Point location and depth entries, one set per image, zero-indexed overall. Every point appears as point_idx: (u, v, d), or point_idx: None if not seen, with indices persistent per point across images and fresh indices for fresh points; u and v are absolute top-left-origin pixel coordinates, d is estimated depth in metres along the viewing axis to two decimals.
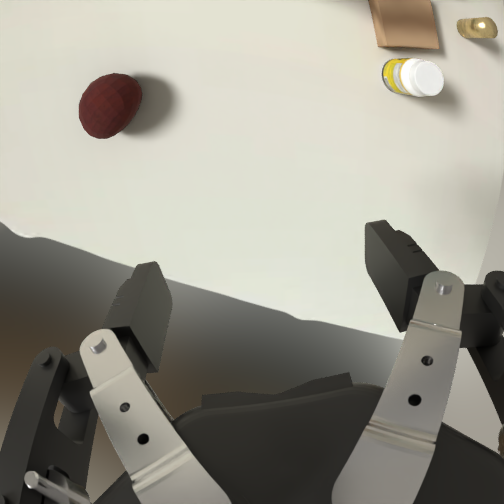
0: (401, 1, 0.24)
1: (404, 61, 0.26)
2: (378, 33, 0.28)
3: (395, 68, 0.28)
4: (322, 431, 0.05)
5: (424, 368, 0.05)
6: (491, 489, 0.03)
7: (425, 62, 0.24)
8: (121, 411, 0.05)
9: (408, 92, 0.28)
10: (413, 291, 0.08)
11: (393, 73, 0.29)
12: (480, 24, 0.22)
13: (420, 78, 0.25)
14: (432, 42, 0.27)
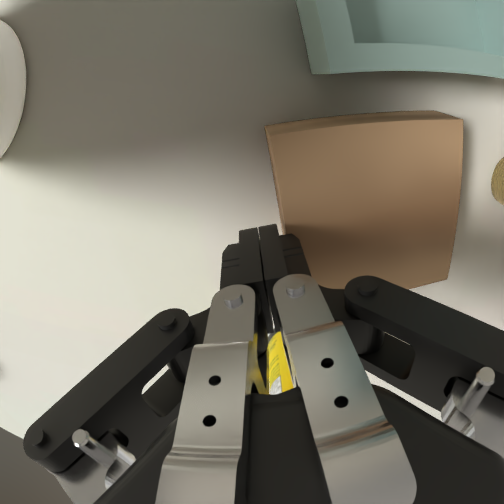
0: (367, 170, 0.11)
1: None
2: None
3: (273, 392, 0.14)
4: None
5: (329, 370, 0.05)
6: (485, 479, 0.03)
7: None
8: (208, 382, 0.06)
9: None
10: None
11: (270, 392, 0.15)
12: None
13: None
14: (434, 270, 0.13)
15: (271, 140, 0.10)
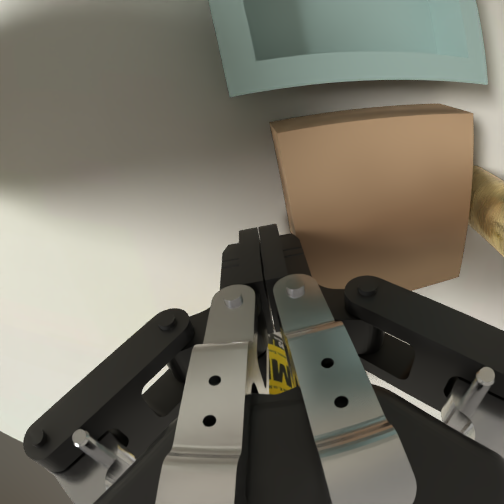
0: (378, 167, 0.10)
1: None
2: None
3: None
4: None
5: (329, 370, 0.05)
6: (485, 479, 0.03)
7: None
8: (208, 382, 0.06)
9: None
10: None
11: None
12: None
13: None
14: (445, 268, 0.13)
15: (278, 138, 0.10)
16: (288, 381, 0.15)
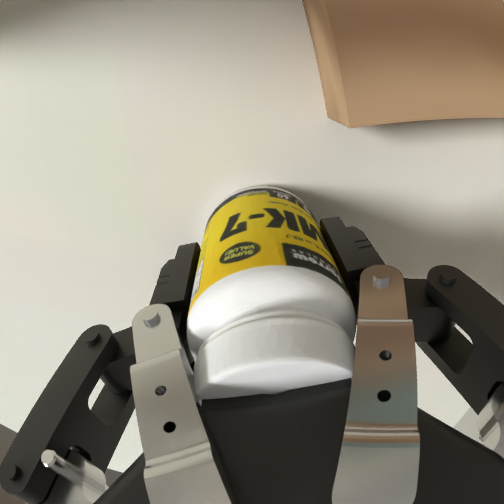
0: None
1: (205, 282, 0.08)
2: (326, 74, 0.09)
3: (193, 287, 0.09)
4: (322, 431, 0.05)
5: (385, 363, 0.05)
6: (490, 484, 0.03)
7: (249, 371, 0.05)
8: (155, 394, 0.05)
9: None
10: (354, 285, 0.09)
11: None
12: None
13: None
14: (503, 98, 0.08)
15: None
16: (325, 245, 0.10)
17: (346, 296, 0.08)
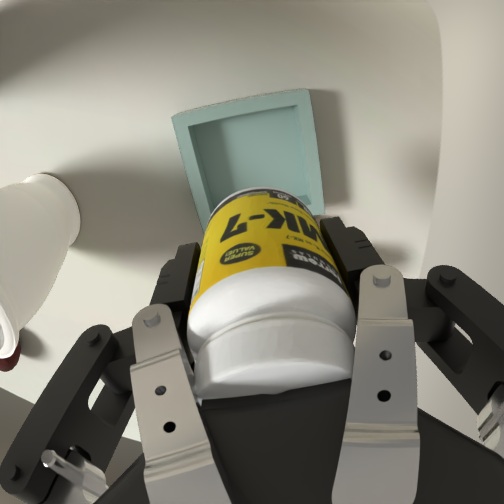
0: None
1: (206, 283, 0.08)
2: None
3: None
4: (322, 431, 0.05)
5: (385, 363, 0.05)
6: (490, 484, 0.03)
7: (249, 372, 0.05)
8: (155, 393, 0.05)
9: None
10: (354, 285, 0.09)
11: None
12: None
13: None
14: None
15: None
16: (325, 246, 0.10)
17: (346, 297, 0.08)
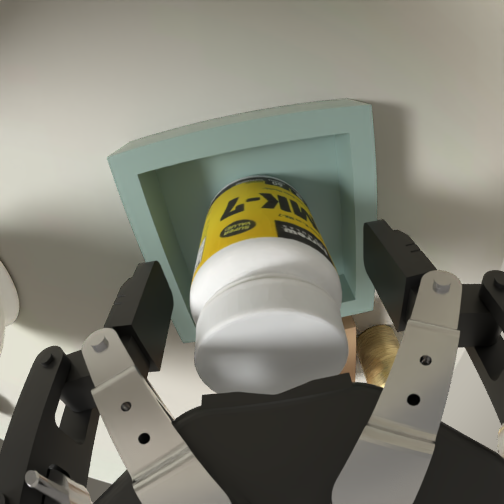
0: None
1: (207, 253, 0.09)
2: None
3: None
4: (322, 431, 0.05)
5: (423, 368, 0.05)
6: (491, 489, 0.03)
7: (244, 321, 0.07)
8: (122, 410, 0.05)
9: None
10: (411, 291, 0.08)
11: None
12: None
13: (223, 374, 0.08)
14: None
15: None
16: (314, 226, 0.11)
17: (331, 266, 0.09)
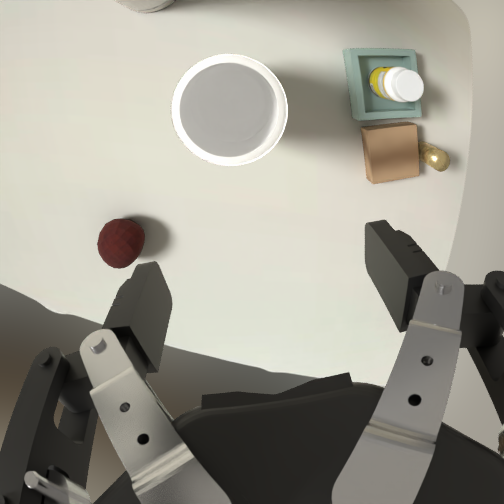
0: (390, 140, 0.39)
1: (388, 69, 0.30)
2: (367, 169, 0.43)
3: (380, 76, 0.32)
4: (322, 431, 0.05)
5: (424, 368, 0.05)
6: (491, 489, 0.03)
7: (406, 71, 0.28)
8: (121, 411, 0.05)
9: (391, 98, 0.32)
10: (413, 292, 0.08)
11: (378, 81, 0.33)
12: (432, 159, 0.37)
13: (401, 86, 0.29)
14: (413, 171, 0.41)
15: (367, 131, 0.38)
16: None
17: None
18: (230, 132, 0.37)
